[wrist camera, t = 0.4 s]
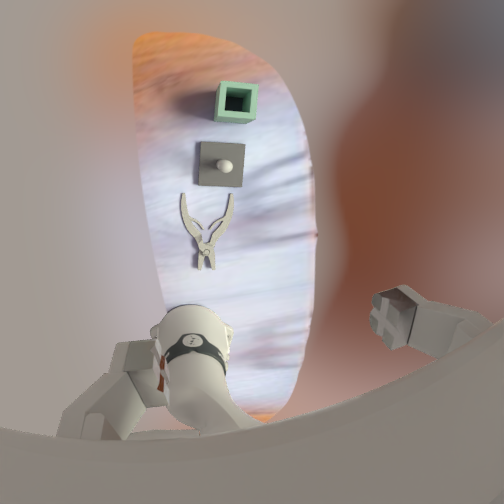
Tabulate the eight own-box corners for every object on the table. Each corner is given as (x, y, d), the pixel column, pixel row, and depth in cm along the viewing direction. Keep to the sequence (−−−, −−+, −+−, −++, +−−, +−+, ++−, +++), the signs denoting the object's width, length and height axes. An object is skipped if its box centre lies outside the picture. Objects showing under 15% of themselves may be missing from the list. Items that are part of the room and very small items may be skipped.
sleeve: (246, 123, 49) (255, 119, 42) (213, 121, 48) (217, 116, 40) (248, 93, 47) (258, 84, 40) (216, 90, 46) (220, 80, 38)
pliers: (234, 194, 52) (231, 270, 57) (233, 193, 53) (230, 266, 58) (181, 194, 50) (181, 270, 55) (181, 192, 51) (181, 267, 56)
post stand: (240, 186, 53) (249, 192, 46) (198, 184, 51) (199, 190, 44) (244, 144, 50) (253, 143, 43) (200, 141, 48) (202, 140, 41)
